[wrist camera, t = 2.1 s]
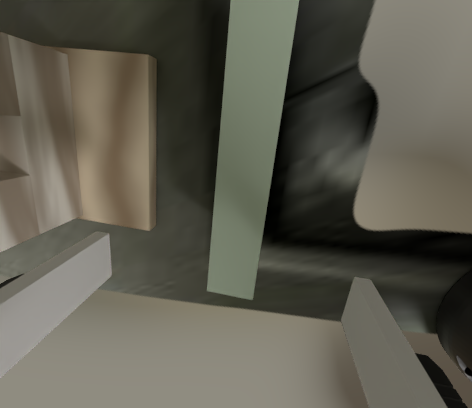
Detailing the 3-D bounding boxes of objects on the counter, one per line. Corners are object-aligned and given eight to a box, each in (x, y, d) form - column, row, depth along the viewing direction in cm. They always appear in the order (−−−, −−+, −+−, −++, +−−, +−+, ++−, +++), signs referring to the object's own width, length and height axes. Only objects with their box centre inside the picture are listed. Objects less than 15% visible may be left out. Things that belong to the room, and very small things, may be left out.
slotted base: (156, 59, 22) (34, -8, 11) (156, 225, 27) (72, 292, 16) (-18, 44, 24) (-262, -23, 13) (12, 200, 29) (-147, 244, 18)
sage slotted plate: (253, 53, 20) (231, -10, 11) (290, 56, 20) (300, -6, 11) (233, 230, 25) (206, 290, 16) (262, 234, 25) (252, 300, 16)
